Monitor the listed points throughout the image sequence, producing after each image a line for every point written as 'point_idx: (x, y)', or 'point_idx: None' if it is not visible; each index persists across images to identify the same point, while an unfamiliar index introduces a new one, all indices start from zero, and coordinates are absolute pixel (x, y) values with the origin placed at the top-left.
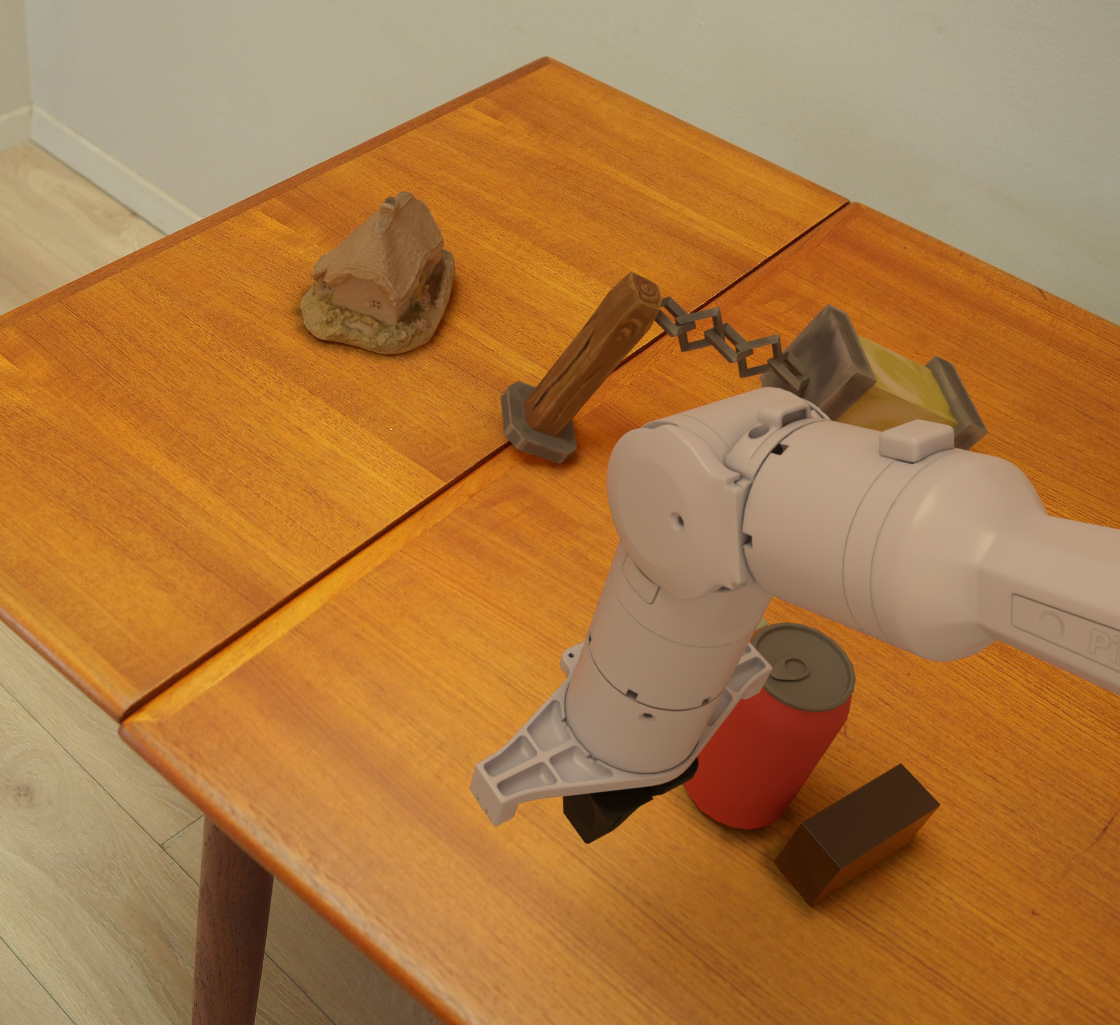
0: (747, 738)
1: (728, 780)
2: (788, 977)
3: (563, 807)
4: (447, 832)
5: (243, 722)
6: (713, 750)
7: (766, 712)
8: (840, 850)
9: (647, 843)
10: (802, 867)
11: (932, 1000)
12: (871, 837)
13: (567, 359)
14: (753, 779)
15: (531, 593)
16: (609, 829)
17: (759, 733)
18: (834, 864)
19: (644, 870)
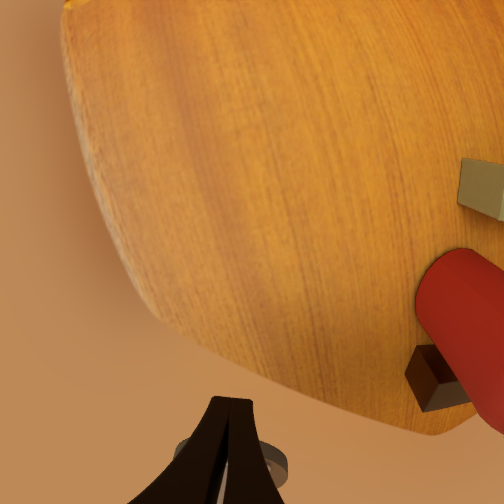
0: (471, 380)
1: (440, 338)
2: (354, 395)
3: (210, 402)
4: (210, 189)
5: (116, 18)
6: (454, 326)
7: (495, 410)
8: (434, 404)
9: (362, 294)
10: (418, 374)
11: (397, 421)
12: (453, 403)
13: None
14: (448, 362)
15: (445, 36)
16: (225, 466)
17: (477, 397)
18: (423, 408)
19: (341, 309)
